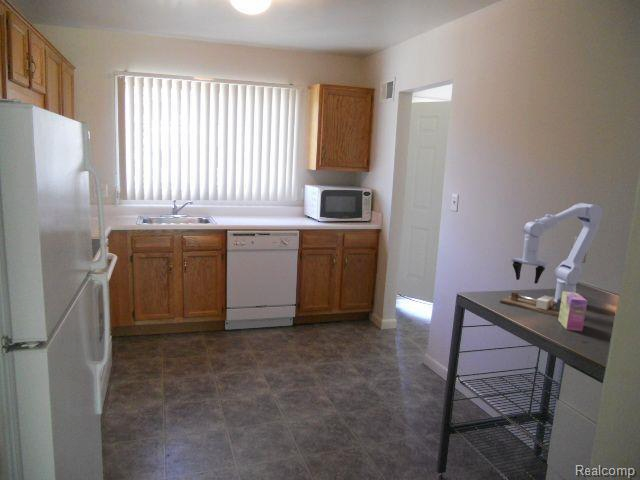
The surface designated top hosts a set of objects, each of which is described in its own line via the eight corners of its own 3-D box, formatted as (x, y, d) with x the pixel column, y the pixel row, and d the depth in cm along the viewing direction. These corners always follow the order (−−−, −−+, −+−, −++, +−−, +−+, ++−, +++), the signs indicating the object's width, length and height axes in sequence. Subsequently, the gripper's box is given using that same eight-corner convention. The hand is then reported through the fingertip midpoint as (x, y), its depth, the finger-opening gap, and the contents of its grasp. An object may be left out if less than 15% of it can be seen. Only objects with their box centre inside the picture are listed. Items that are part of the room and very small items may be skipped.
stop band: (550, 306, 196) (551, 299, 196) (553, 306, 195) (554, 300, 195) (548, 307, 194) (549, 300, 194) (551, 308, 193) (552, 301, 193)
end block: (559, 309, 195) (560, 297, 194) (566, 310, 193) (568, 299, 192) (556, 311, 192) (557, 299, 191) (564, 312, 190) (565, 300, 189)
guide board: (509, 297, 212) (510, 288, 211) (573, 312, 195) (574, 301, 194) (499, 302, 204) (500, 292, 203) (565, 318, 186) (566, 307, 186)
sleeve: (542, 303, 201) (543, 295, 201) (552, 305, 199) (554, 297, 198) (535, 307, 195) (536, 299, 194) (546, 309, 192) (547, 301, 191)
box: (583, 331, 172) (587, 300, 170) (566, 329, 173) (570, 298, 171) (574, 322, 182) (578, 292, 180) (558, 320, 183) (562, 291, 181)
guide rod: (515, 296, 205) (515, 294, 205) (562, 307, 193) (562, 304, 192) (514, 297, 204) (514, 294, 204) (561, 307, 192) (561, 305, 191)
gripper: (510, 248, 204) (506, 279, 206) (545, 254, 194) (541, 286, 197) (516, 246, 209) (512, 276, 211) (551, 252, 200) (546, 283, 202)
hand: (526, 281), depth 204 cm, fingers open, 7 cm apart
